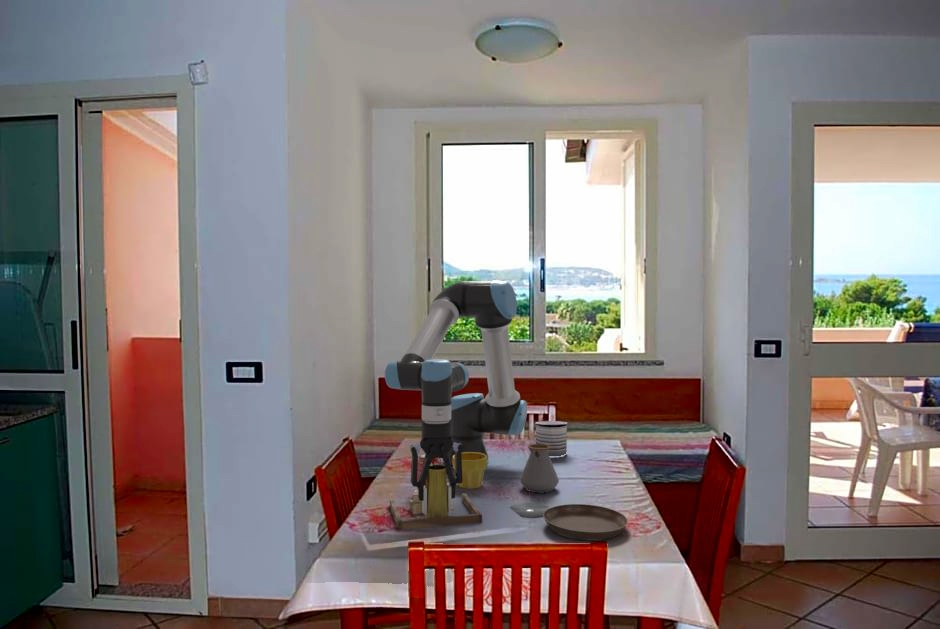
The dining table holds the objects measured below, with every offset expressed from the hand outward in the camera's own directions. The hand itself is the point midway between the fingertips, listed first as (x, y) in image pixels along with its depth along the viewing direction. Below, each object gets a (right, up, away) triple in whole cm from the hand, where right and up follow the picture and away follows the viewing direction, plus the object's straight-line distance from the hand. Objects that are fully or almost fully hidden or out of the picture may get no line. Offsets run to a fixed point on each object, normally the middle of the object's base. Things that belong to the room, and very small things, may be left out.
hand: (436, 511), depth 170 cm
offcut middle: (-2, -1, +8) cm, 8 cm away
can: (+38, 0, +70) cm, 80 cm away
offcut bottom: (-2, -3, +8) cm, 9 cm away
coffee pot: (+28, -2, +24) cm, 37 cm away
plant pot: (+8, -2, +29) cm, 31 cm away
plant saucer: (+37, -4, -4) cm, 37 cm away
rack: (-1, -3, +4) cm, 4 cm away
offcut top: (-2, +1, +8) cm, 8 cm away
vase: (0, -3, 0) cm, 3 cm away
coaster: (+24, -3, +10) cm, 26 cm away
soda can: (-3, -2, +22) cm, 22 cm away
